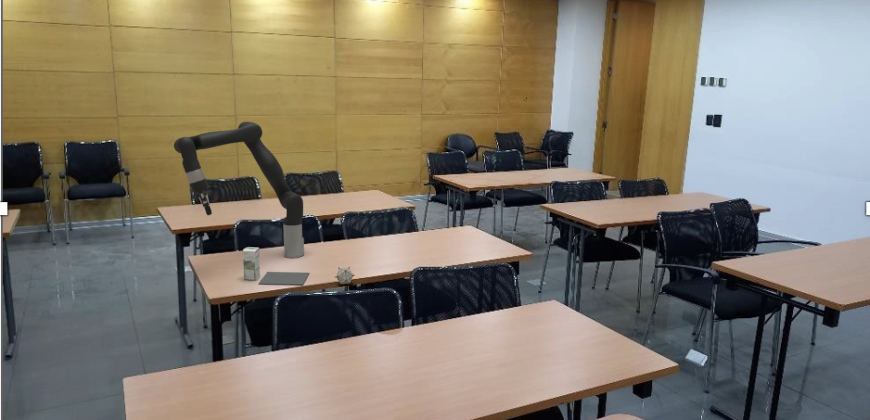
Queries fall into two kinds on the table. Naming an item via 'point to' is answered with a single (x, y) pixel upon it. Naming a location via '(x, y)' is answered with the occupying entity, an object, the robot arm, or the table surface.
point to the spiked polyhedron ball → (344, 276)
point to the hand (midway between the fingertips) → (209, 213)
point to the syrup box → (251, 263)
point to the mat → (284, 278)
